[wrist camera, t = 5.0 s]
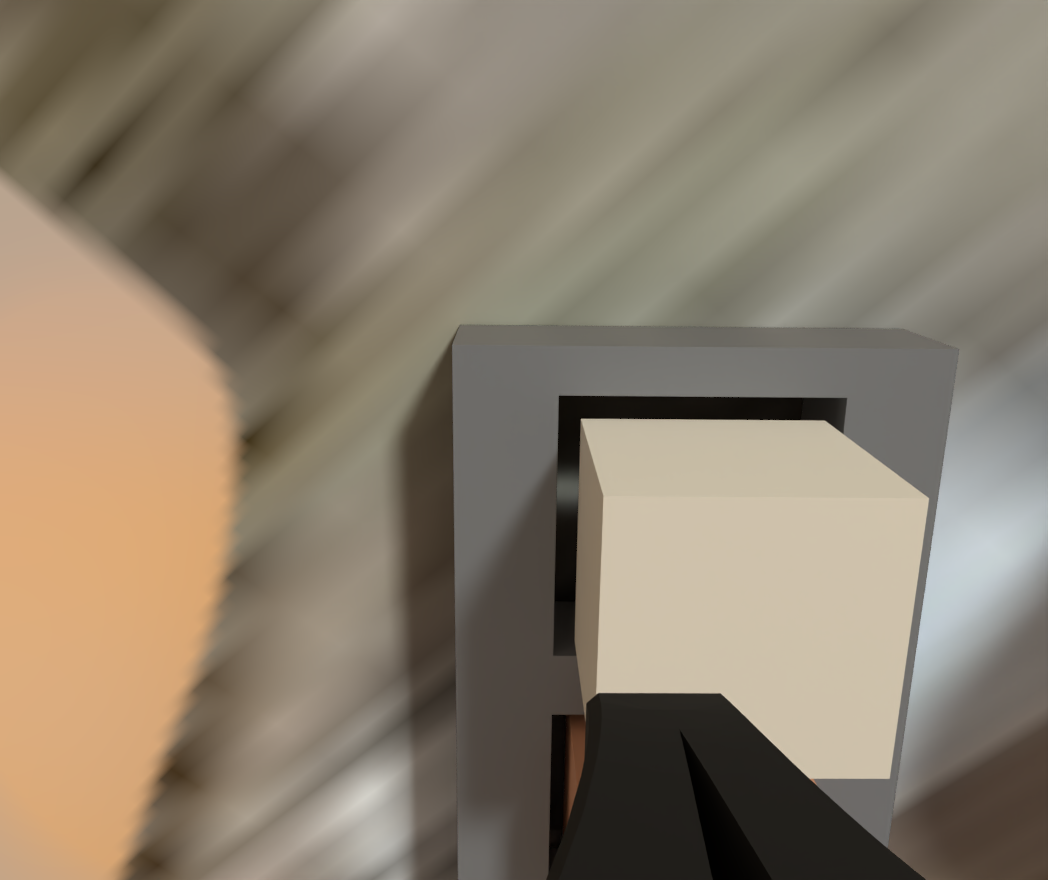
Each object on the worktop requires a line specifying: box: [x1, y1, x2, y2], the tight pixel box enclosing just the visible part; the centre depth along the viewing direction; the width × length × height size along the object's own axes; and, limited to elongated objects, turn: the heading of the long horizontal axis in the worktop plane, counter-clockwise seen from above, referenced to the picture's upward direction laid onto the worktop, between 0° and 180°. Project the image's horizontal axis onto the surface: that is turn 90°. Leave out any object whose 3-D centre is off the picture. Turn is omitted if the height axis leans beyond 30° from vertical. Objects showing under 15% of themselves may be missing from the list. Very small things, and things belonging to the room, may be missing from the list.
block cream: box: [574, 419, 929, 779], centre depth 15 cm, size 4×4×4 cm
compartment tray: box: [452, 325, 959, 880], centre depth 20 cm, size 20×9×2 cm, turn 179°
